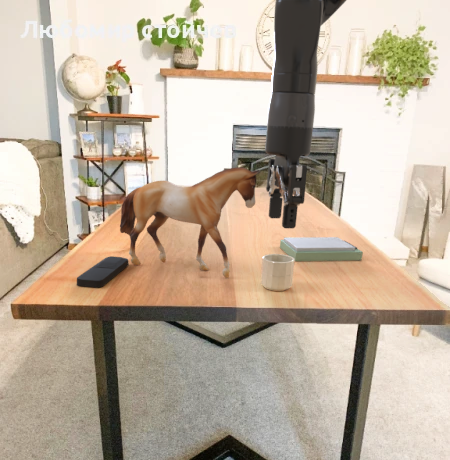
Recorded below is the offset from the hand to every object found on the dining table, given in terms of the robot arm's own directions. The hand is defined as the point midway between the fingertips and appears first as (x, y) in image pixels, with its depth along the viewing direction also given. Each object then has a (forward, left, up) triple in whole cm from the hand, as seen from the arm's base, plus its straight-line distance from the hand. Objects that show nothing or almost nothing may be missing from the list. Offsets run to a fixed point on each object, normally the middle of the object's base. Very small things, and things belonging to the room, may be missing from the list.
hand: (281, 222), depth 78 cm
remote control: (+32, -9, -12) cm, 35 cm away
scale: (-17, -22, -12) cm, 30 cm away
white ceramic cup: (0, 0, -12) cm, 12 cm away
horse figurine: (+16, -15, -12) cm, 25 cm away
